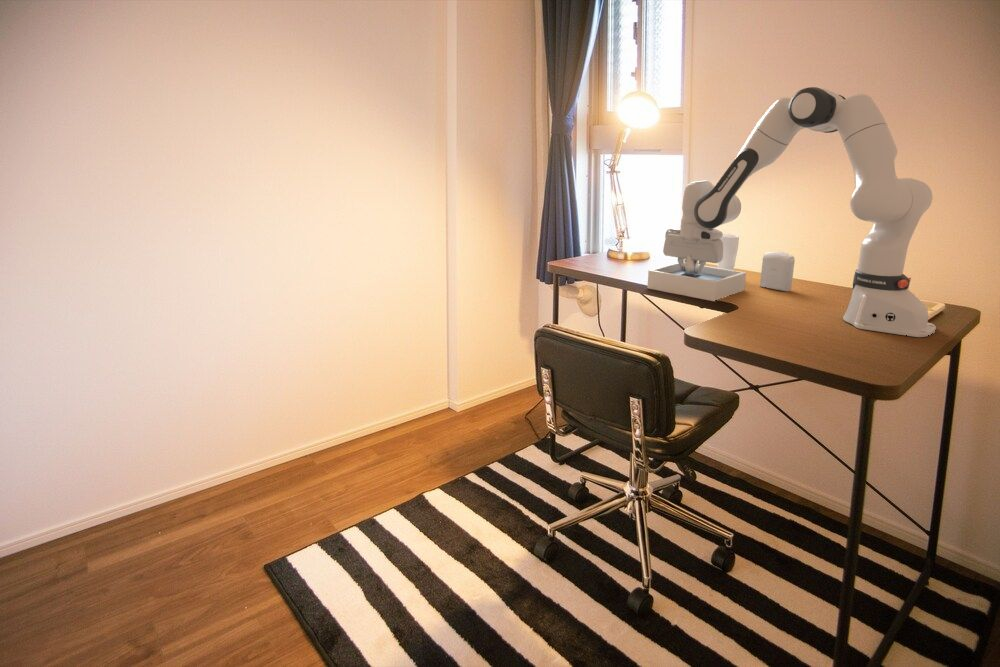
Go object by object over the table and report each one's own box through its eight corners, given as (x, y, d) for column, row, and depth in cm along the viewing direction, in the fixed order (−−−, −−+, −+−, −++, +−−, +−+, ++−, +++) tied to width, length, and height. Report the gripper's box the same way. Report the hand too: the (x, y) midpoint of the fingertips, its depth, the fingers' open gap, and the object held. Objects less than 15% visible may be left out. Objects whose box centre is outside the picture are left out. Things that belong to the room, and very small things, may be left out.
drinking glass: (710, 277, 251) (714, 234, 247) (725, 275, 254) (729, 233, 249) (723, 281, 245) (728, 237, 241) (738, 279, 248) (743, 236, 243)
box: (744, 290, 233) (746, 272, 231) (714, 301, 219) (716, 282, 217) (678, 278, 248) (680, 261, 247) (647, 288, 235) (648, 270, 233)
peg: (697, 284, 238) (700, 254, 235) (692, 286, 235) (694, 256, 232) (687, 282, 241) (689, 252, 238) (681, 284, 238) (683, 254, 235)
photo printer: (757, 286, 238) (761, 250, 234) (764, 284, 241) (768, 248, 237) (786, 292, 230) (791, 254, 227) (793, 290, 233) (798, 253, 229)
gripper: (661, 228, 237) (658, 269, 242) (718, 235, 224) (713, 278, 228) (671, 226, 242) (668, 266, 246) (727, 233, 228) (723, 275, 232)
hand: (690, 272), depth 237 cm, fingers open, 4 cm apart
